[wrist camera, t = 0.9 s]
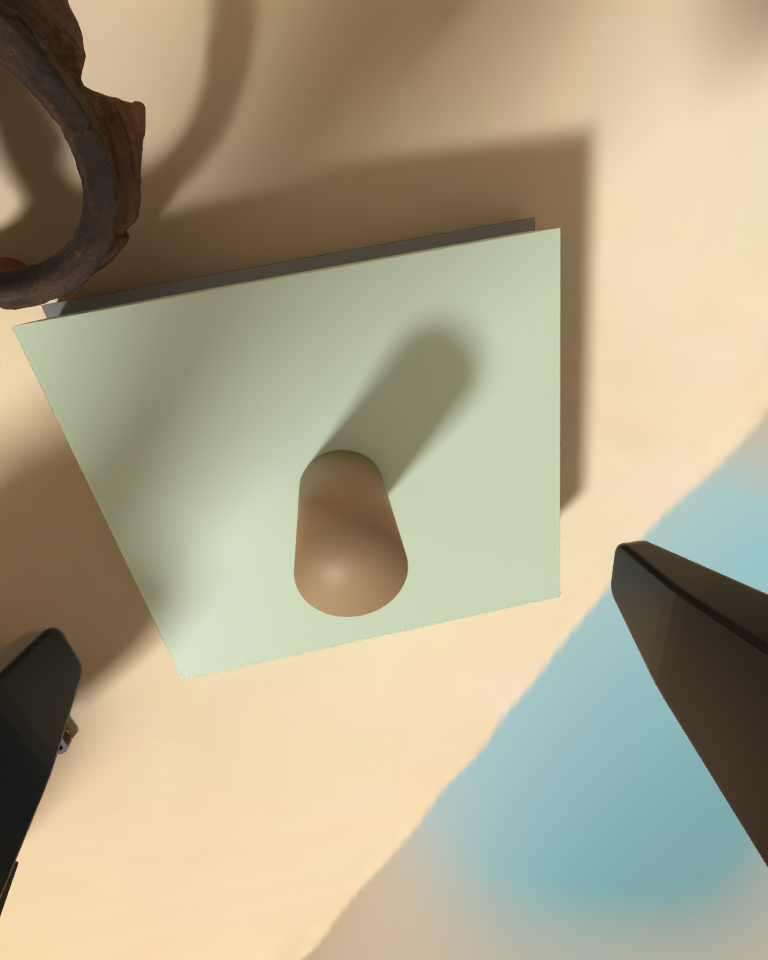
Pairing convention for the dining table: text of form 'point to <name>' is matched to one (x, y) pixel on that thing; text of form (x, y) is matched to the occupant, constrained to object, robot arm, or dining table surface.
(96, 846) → the dining table surface
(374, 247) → the mat
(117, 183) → the pottery mug
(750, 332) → the dining table surface
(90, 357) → the lid
